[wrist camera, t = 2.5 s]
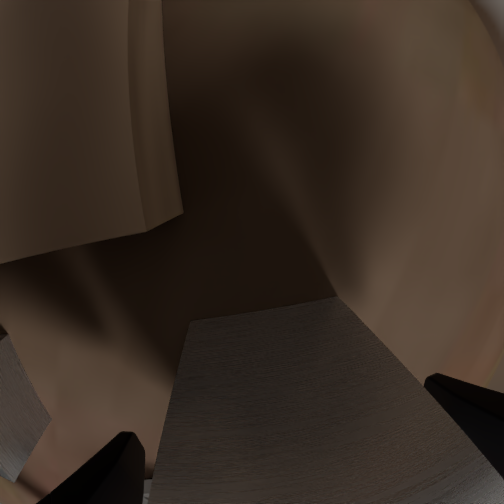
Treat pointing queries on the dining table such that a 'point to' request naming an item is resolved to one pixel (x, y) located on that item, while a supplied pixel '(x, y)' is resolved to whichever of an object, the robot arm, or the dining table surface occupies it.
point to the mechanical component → (146, 490)
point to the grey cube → (17, 413)
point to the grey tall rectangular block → (308, 419)
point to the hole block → (83, 124)
